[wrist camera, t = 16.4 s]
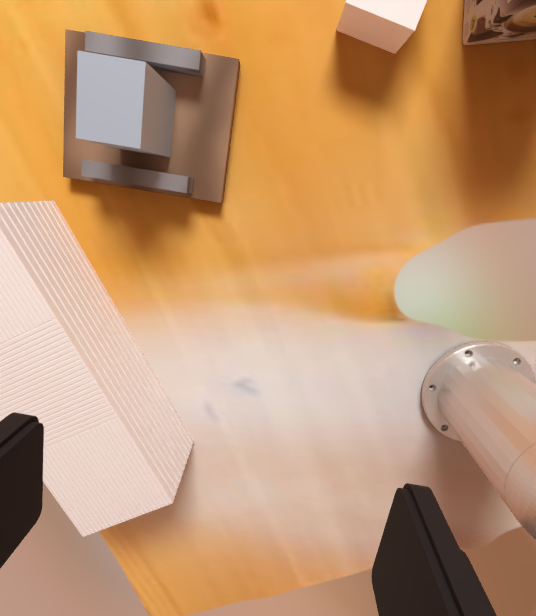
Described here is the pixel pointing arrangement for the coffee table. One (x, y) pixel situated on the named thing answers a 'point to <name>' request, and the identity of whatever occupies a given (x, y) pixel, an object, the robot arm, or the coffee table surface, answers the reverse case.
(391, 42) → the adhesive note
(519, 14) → the coffee box
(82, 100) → the slate block
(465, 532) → the coffee table surface
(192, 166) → the display stand
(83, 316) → the stack of papers
